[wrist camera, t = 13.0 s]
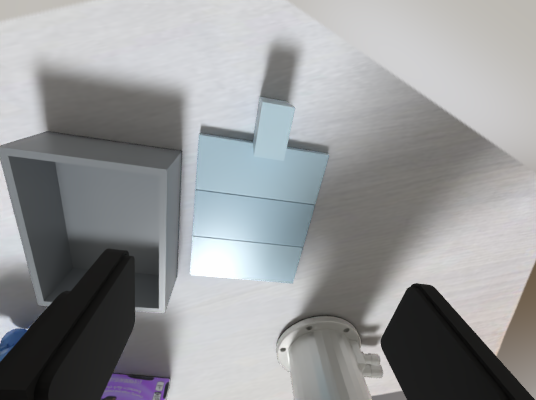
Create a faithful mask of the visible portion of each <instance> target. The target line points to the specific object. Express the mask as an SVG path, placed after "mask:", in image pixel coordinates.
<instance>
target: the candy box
mask: <svg viewBox="0 0 536 400" xmlns="http://www.w3.org/2000/svg"><path fill="white" fill-rule="evenodd" d="M169 386H170V379H168V378H158V377H146V376H134V375H124V374H112V376H111V378H110V380H109V382H108V384H107V387H106V389H105V391H104V393H103V395H102V397H101V400H167V395H168V390H169Z"/></svg>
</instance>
